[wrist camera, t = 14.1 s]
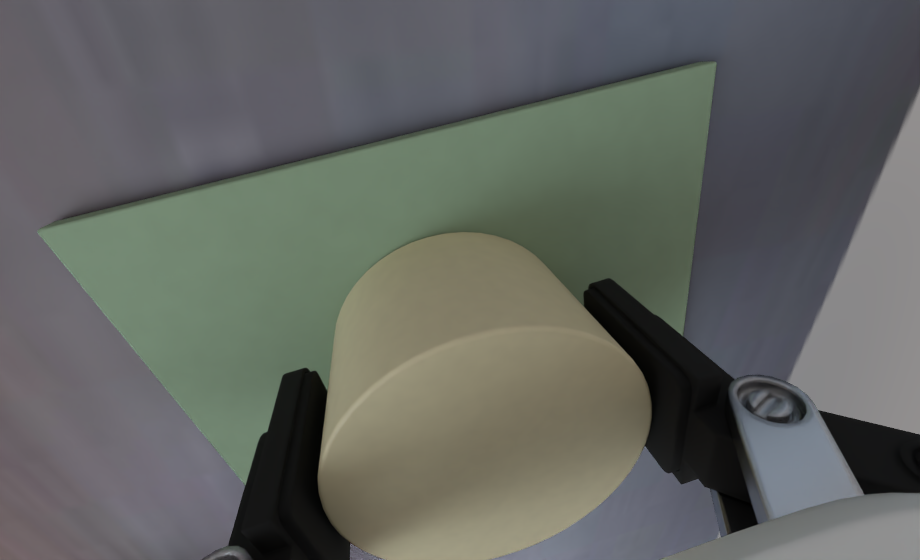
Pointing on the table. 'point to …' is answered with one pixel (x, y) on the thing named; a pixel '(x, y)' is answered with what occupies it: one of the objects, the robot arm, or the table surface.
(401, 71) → the table surface
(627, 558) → the table surface
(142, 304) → the mat
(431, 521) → the cream round puck
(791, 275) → the table surface
